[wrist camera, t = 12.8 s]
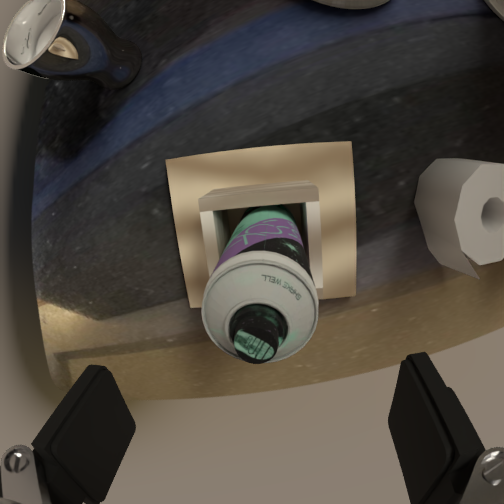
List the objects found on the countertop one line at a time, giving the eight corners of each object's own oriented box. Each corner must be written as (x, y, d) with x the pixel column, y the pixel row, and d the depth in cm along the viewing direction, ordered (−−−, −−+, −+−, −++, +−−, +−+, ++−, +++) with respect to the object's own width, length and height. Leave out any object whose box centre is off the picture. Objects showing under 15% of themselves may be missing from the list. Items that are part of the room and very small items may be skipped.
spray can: (298, 251, 31) (328, 392, 12) (243, 256, 32) (201, 399, 13) (293, 196, 29) (327, 274, 10) (236, 203, 30) (171, 287, 11)
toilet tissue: (435, 279, 32) (471, 313, 24) (403, 173, 29) (443, 182, 21) (490, 248, 31) (531, 272, 22) (464, 145, 27) (512, 148, 19)
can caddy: (169, 159, 30) (137, 163, 23) (348, 141, 29) (372, 138, 21) (193, 303, 35) (173, 341, 27) (353, 291, 33) (372, 328, 26)
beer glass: (94, 101, 29) (-2, 87, 14) (90, 49, 26) (4, 15, 12) (149, 83, 28) (65, 46, 14) (144, 29, 26) (70, -28, 11)
